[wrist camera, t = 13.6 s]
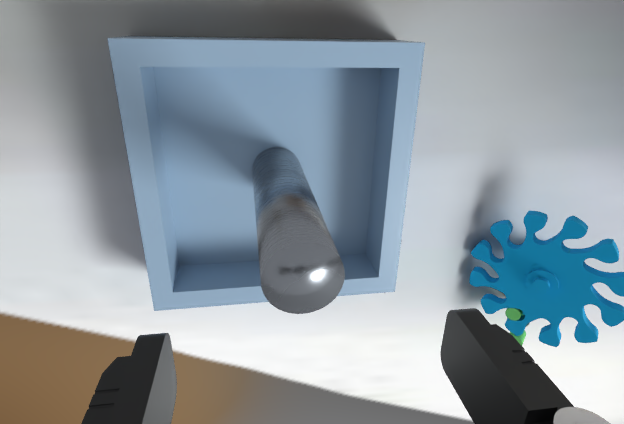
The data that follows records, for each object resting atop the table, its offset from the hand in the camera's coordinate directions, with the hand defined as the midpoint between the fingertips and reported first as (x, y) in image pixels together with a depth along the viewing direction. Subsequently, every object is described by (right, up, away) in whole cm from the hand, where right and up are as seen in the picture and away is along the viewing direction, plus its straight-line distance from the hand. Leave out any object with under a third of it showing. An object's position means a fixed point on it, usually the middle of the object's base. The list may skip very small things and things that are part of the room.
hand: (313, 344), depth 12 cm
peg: (-2, +6, +13) cm, 15 cm away
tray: (-3, +7, +14) cm, 16 cm away
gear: (+15, 0, +21) cm, 26 cm away
